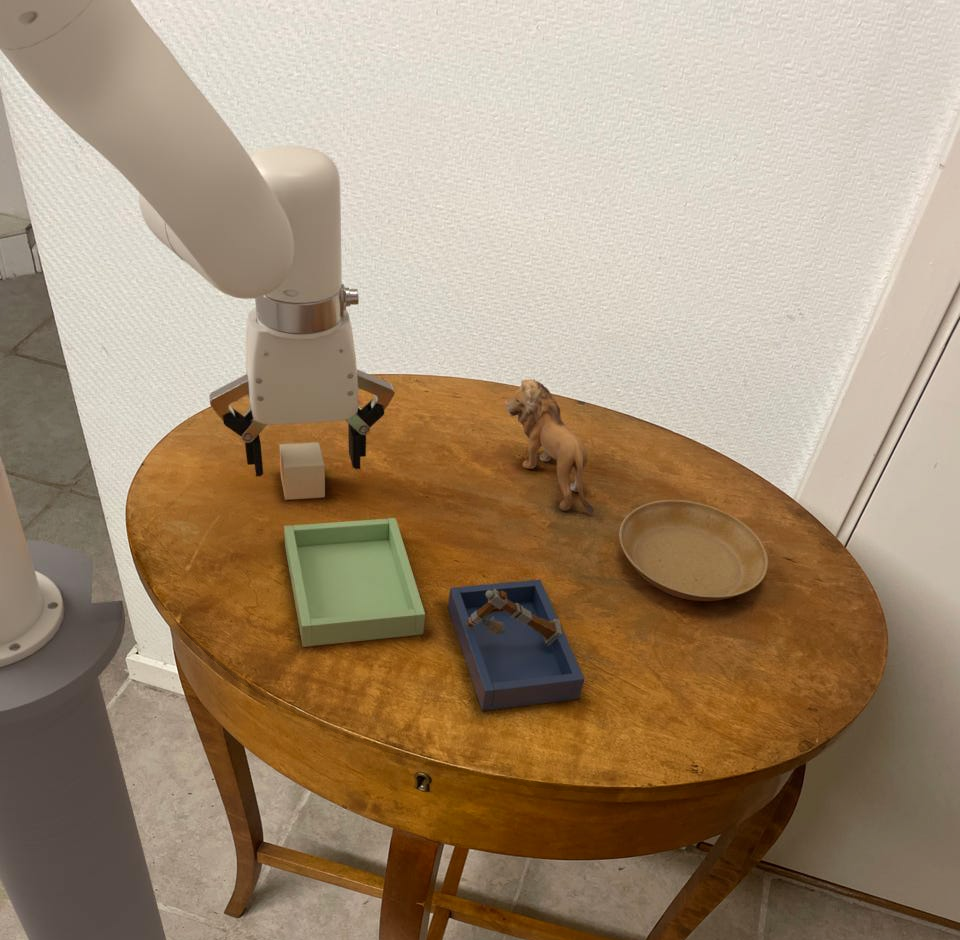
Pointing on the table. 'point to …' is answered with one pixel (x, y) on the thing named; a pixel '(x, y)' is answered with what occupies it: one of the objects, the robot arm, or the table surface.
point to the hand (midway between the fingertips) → (307, 464)
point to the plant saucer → (693, 550)
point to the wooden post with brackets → (521, 614)
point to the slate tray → (514, 649)
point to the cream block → (302, 470)
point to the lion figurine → (550, 437)
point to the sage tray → (352, 582)
